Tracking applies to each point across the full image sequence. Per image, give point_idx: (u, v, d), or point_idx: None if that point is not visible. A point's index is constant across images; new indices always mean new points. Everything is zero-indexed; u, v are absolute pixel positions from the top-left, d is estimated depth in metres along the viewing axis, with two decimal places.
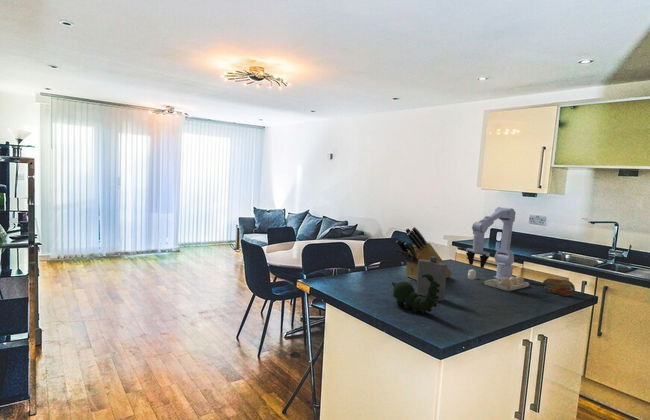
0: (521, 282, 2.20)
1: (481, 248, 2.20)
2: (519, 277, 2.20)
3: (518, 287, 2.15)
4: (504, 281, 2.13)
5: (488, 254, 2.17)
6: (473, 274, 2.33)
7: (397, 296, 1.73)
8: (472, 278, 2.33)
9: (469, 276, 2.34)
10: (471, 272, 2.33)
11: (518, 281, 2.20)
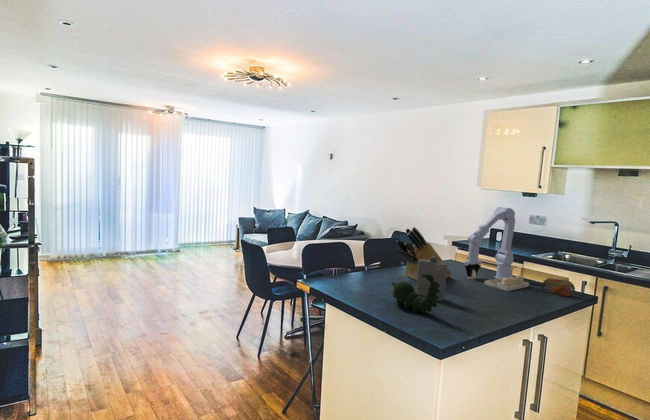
0: (521, 282, 2.20)
1: (469, 258, 2.33)
2: (519, 277, 2.20)
3: (518, 287, 2.15)
4: (504, 281, 2.13)
5: (465, 263, 2.30)
6: (473, 274, 2.33)
7: (397, 296, 1.73)
8: (472, 278, 2.33)
9: None
10: None
11: (518, 281, 2.20)
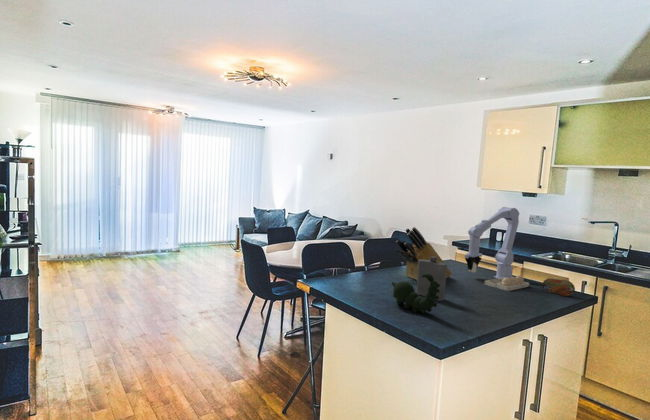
0: (521, 282, 2.20)
1: (470, 251, 2.33)
2: (519, 277, 2.20)
3: (518, 287, 2.15)
4: (504, 281, 2.13)
5: (466, 256, 2.30)
6: (474, 267, 2.32)
7: (397, 296, 1.73)
8: (473, 271, 2.32)
9: None
10: None
11: (518, 281, 2.20)
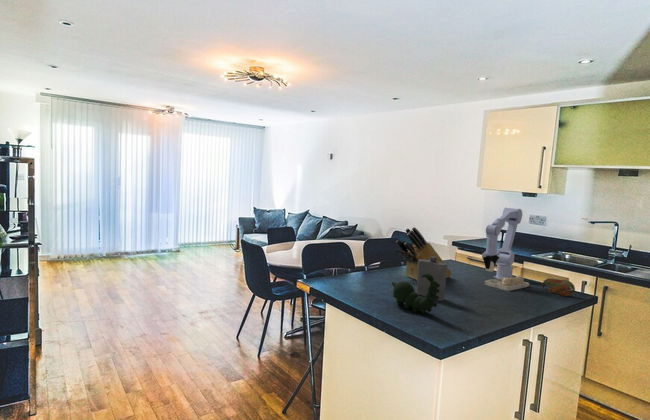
0: (521, 282, 2.20)
1: (487, 250, 2.26)
2: (519, 277, 2.20)
3: (518, 287, 2.15)
4: (504, 281, 2.13)
5: (483, 255, 2.23)
6: (491, 266, 2.25)
7: (397, 296, 1.73)
8: (490, 270, 2.26)
9: None
10: None
11: (518, 281, 2.20)
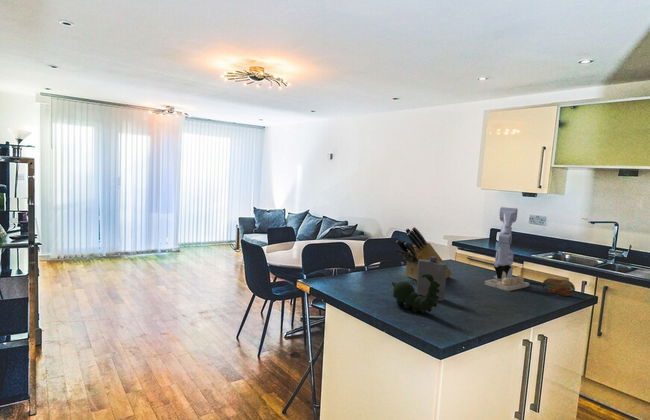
0: (521, 282, 2.20)
1: (499, 259, 2.21)
2: (519, 277, 2.20)
3: (518, 287, 2.15)
4: (504, 281, 2.13)
5: (495, 265, 2.19)
6: (503, 276, 2.21)
7: (397, 296, 1.73)
8: None
9: None
10: None
11: (518, 281, 2.20)
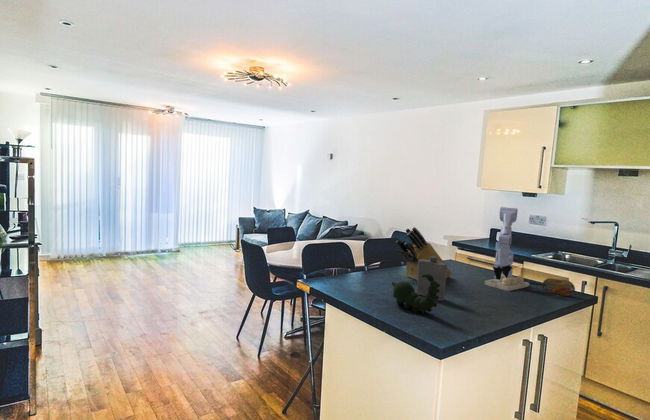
0: (521, 282, 2.20)
1: (499, 260, 2.21)
2: (519, 277, 2.20)
3: (518, 287, 2.15)
4: (504, 281, 2.13)
5: (495, 265, 2.19)
6: None
7: (397, 296, 1.73)
8: None
9: None
10: (501, 277, 2.22)
11: (518, 281, 2.20)
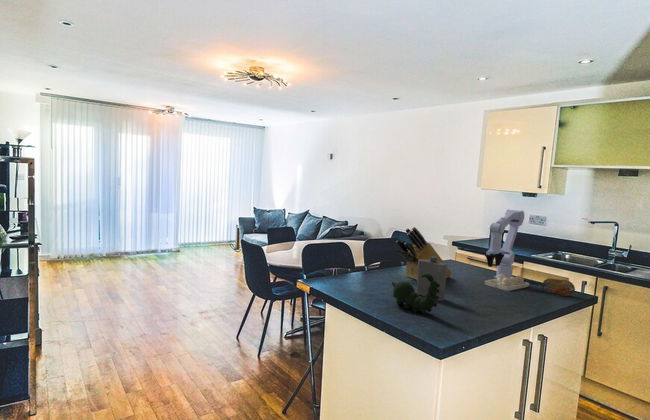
0: (521, 282, 2.20)
1: (491, 248, 2.27)
2: (519, 277, 2.20)
3: (518, 287, 2.15)
4: (504, 281, 2.13)
5: (487, 253, 2.25)
6: None
7: (397, 296, 1.73)
8: None
9: None
10: (501, 277, 2.22)
11: (518, 281, 2.20)
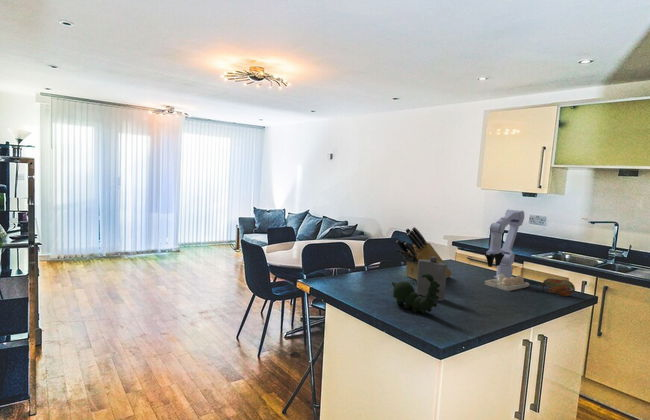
0: (521, 282, 2.20)
1: (491, 248, 2.27)
2: (519, 277, 2.20)
3: (518, 287, 2.15)
4: (504, 281, 2.13)
5: (487, 253, 2.25)
6: None
7: (397, 296, 1.73)
8: None
9: None
10: (501, 277, 2.22)
11: (518, 281, 2.20)
